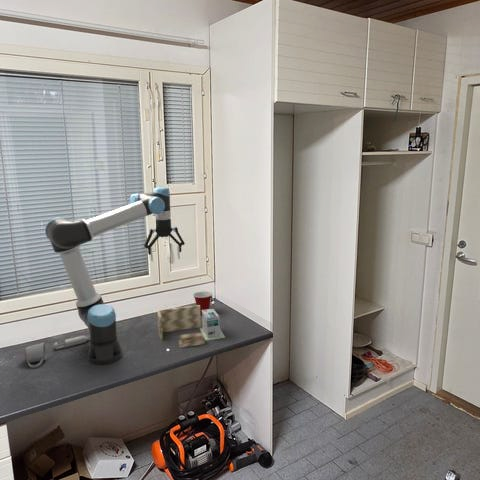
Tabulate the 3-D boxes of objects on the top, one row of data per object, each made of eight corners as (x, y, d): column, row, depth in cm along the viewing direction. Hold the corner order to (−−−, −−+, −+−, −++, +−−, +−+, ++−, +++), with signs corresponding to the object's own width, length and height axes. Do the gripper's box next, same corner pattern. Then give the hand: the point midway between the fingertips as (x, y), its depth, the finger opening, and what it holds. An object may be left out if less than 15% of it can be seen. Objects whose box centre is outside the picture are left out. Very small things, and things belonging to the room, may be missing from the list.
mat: (205, 340, 206) (205, 339, 206) (199, 328, 219) (199, 327, 219) (225, 337, 209) (225, 337, 208) (218, 326, 222) (218, 325, 221)
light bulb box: (220, 336, 210) (219, 316, 207) (207, 338, 207) (206, 318, 205) (214, 327, 219) (213, 308, 217) (201, 329, 217) (201, 309, 215)
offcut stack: (180, 347, 199) (179, 338, 198) (178, 343, 203) (178, 334, 202) (204, 344, 203) (204, 335, 201) (202, 340, 207) (202, 331, 206)
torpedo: (55, 352, 196) (53, 339, 195) (53, 348, 200) (51, 335, 199) (94, 342, 206) (93, 329, 204) (91, 338, 210) (90, 326, 208)
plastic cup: (208, 308, 245) (208, 288, 242) (215, 315, 236) (215, 295, 233) (191, 311, 241) (190, 291, 238) (197, 318, 231) (196, 298, 228)
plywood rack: (160, 340, 207) (159, 317, 204) (158, 331, 216) (157, 310, 213) (204, 333, 213) (203, 312, 210) (200, 326, 222) (199, 304, 219)
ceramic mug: (26, 358, 190) (24, 343, 188) (46, 354, 194) (44, 339, 192) (25, 370, 181) (23, 354, 179) (46, 366, 184) (44, 350, 182)
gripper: (138, 221, 202) (140, 263, 207) (189, 218, 209) (190, 259, 214) (137, 218, 209) (139, 259, 214) (186, 215, 216) (188, 255, 221)
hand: (165, 259), depth 214 cm, fingers open, 13 cm apart
